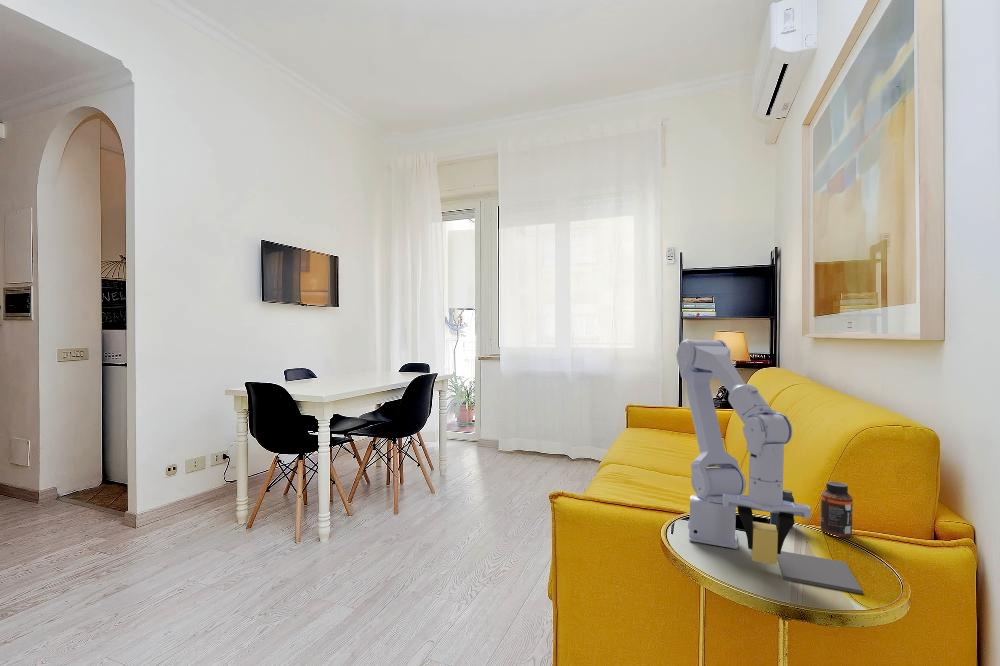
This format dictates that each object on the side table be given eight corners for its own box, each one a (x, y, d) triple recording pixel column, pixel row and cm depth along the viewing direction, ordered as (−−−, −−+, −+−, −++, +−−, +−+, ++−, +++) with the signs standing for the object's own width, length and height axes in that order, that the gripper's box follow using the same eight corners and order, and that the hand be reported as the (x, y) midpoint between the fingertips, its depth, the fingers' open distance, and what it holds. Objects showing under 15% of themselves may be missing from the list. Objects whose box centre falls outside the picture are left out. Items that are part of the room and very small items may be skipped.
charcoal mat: (783, 579, 91) (783, 575, 91) (775, 552, 102) (775, 550, 102) (862, 594, 86) (862, 590, 86) (845, 564, 97) (845, 561, 97)
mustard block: (752, 560, 93) (753, 528, 93) (751, 552, 96) (751, 521, 96) (777, 565, 91) (777, 532, 91) (774, 556, 95) (775, 524, 95)
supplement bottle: (857, 540, 109) (858, 488, 109) (827, 537, 111) (828, 486, 111) (844, 529, 115) (845, 481, 115) (815, 527, 116) (817, 479, 116)
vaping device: (767, 521, 119) (768, 471, 119) (792, 525, 117) (793, 474, 117) (768, 525, 117) (769, 474, 117) (794, 529, 115) (795, 477, 115)
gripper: (724, 477, 93) (722, 550, 93) (814, 489, 87) (812, 566, 87) (723, 468, 99) (721, 536, 100) (807, 478, 94) (805, 550, 94)
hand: (763, 549), depth 94 cm, fingers closed on mustard block, 4 cm apart
